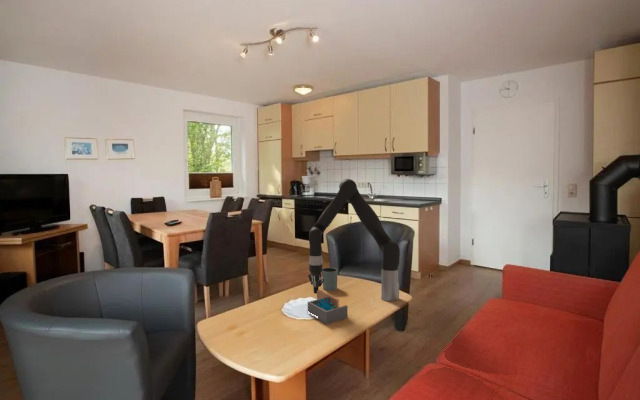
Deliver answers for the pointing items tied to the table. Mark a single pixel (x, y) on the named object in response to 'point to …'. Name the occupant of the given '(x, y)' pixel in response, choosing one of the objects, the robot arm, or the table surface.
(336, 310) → the housing
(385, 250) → the robot arm
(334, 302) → the tan thin board
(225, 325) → the table surface
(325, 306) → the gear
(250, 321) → the table surface
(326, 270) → the grey green cup
